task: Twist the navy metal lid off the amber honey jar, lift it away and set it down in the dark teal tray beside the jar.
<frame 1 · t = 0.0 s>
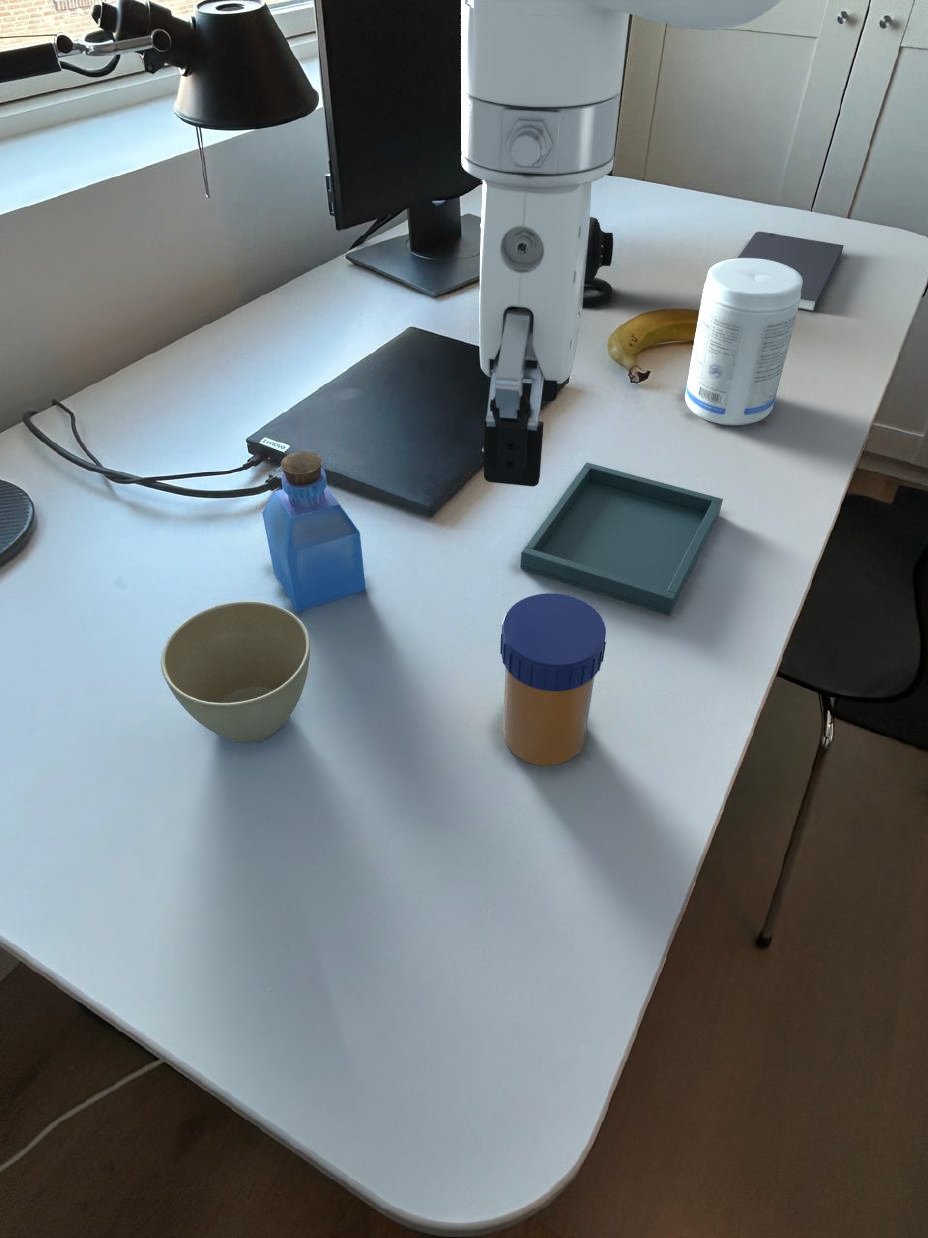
hand: (522, 436, 54), 21 cm above the table, tool pointing down, fingers open, 9 cm apart
webcam: (584, 296, 119), on the table
jar: (543, 732, 64), on the table
flower pot: (253, 718, 65), on the table
supplement tub: (726, 408, 98), on the table
lid: (553, 631, 57), point 10 cm above the table, screwed on, not yet turned
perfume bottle: (319, 581, 76), on the table
notebook: (781, 275, 124), on the table
tray: (623, 540, 80), on the table
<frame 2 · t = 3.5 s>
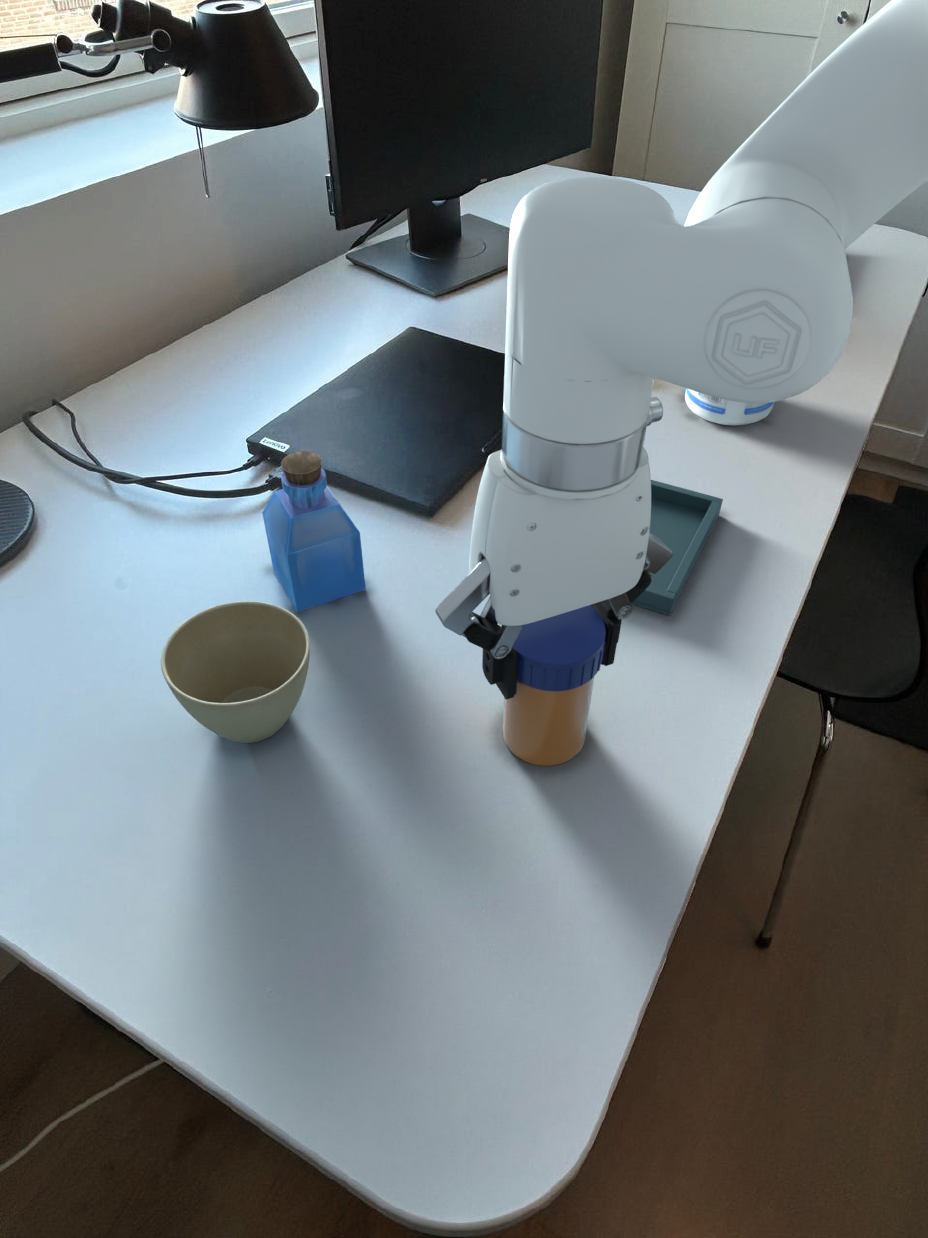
hand: (550, 666, 59), 7 cm above the table, tool pointing down, fingers closed on lid, 6 cm apart
lid: (553, 631, 57), point 10 cm above the table, screwed on, not yet turned, touching gripper
everything else where it was.
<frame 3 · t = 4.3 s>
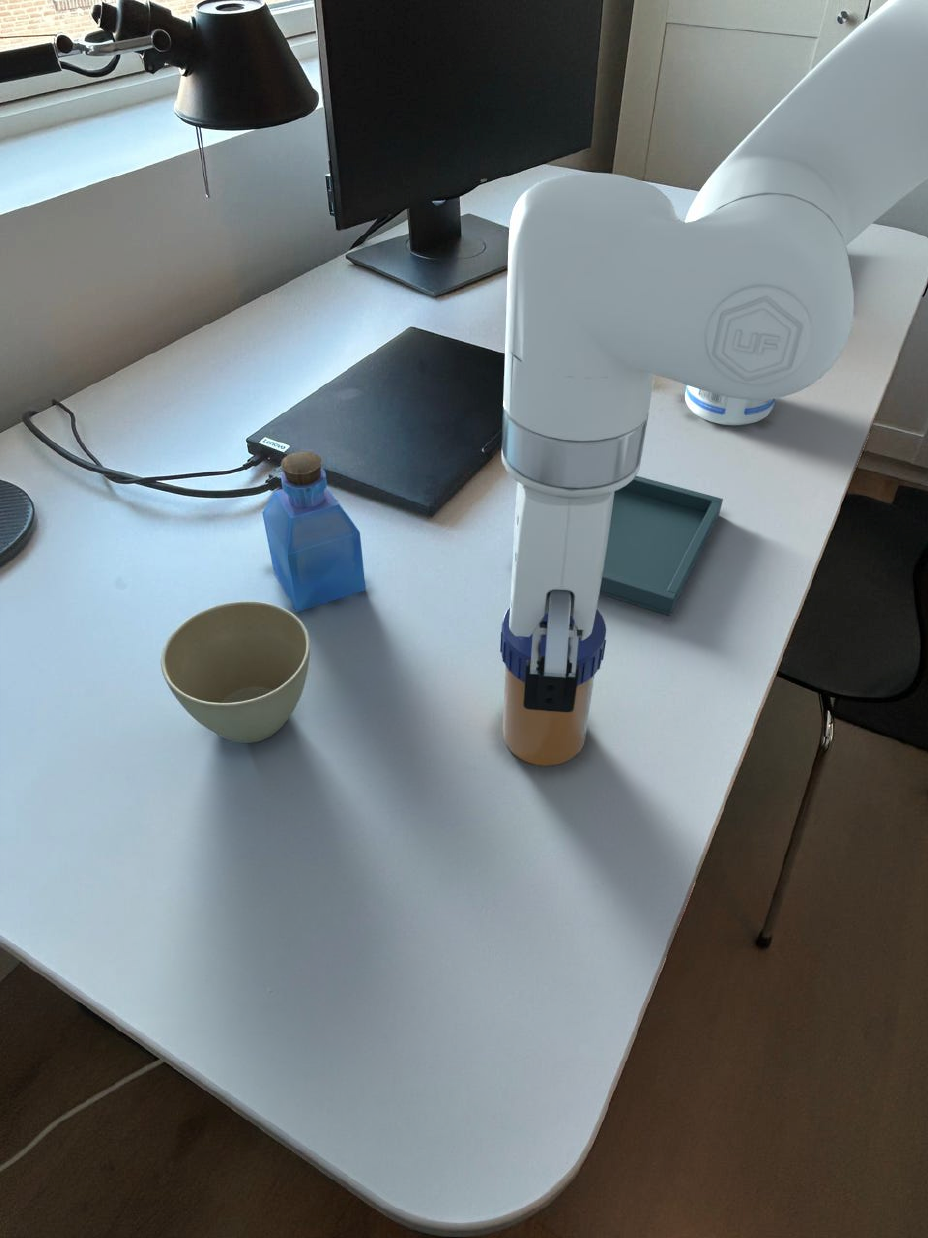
hand: (550, 664, 59), 7 cm above the table, tool pointing down, fingers closed on lid, 6 cm apart
lid: (553, 629, 57), point 10 cm above the table, turned 60° so far, risen 0.2 cm, still on its thread, touching gripper
everything else where it was.
when the fingers open (6 cm above the table, at t = 5.5 s): lid stays where it is, point 11 cm above the table.
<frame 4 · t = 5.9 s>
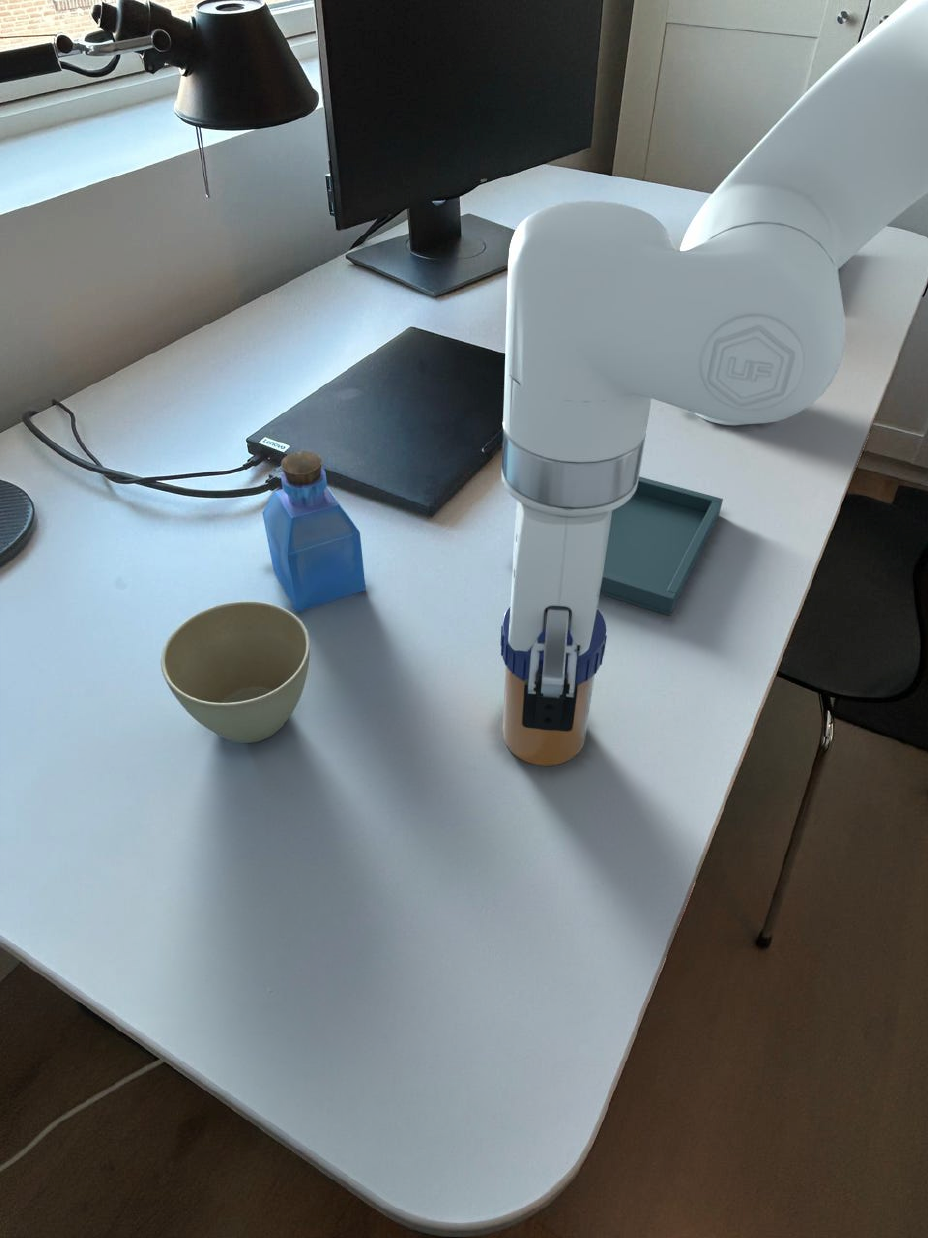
hand: (550, 670, 59), 7 cm above the table, tool pointing down, fingers open, 9 cm apart
lid: (553, 629, 57), point 11 cm above the table, turned 81° so far, risen 0.2 cm, still on its thread
everything else where it was.
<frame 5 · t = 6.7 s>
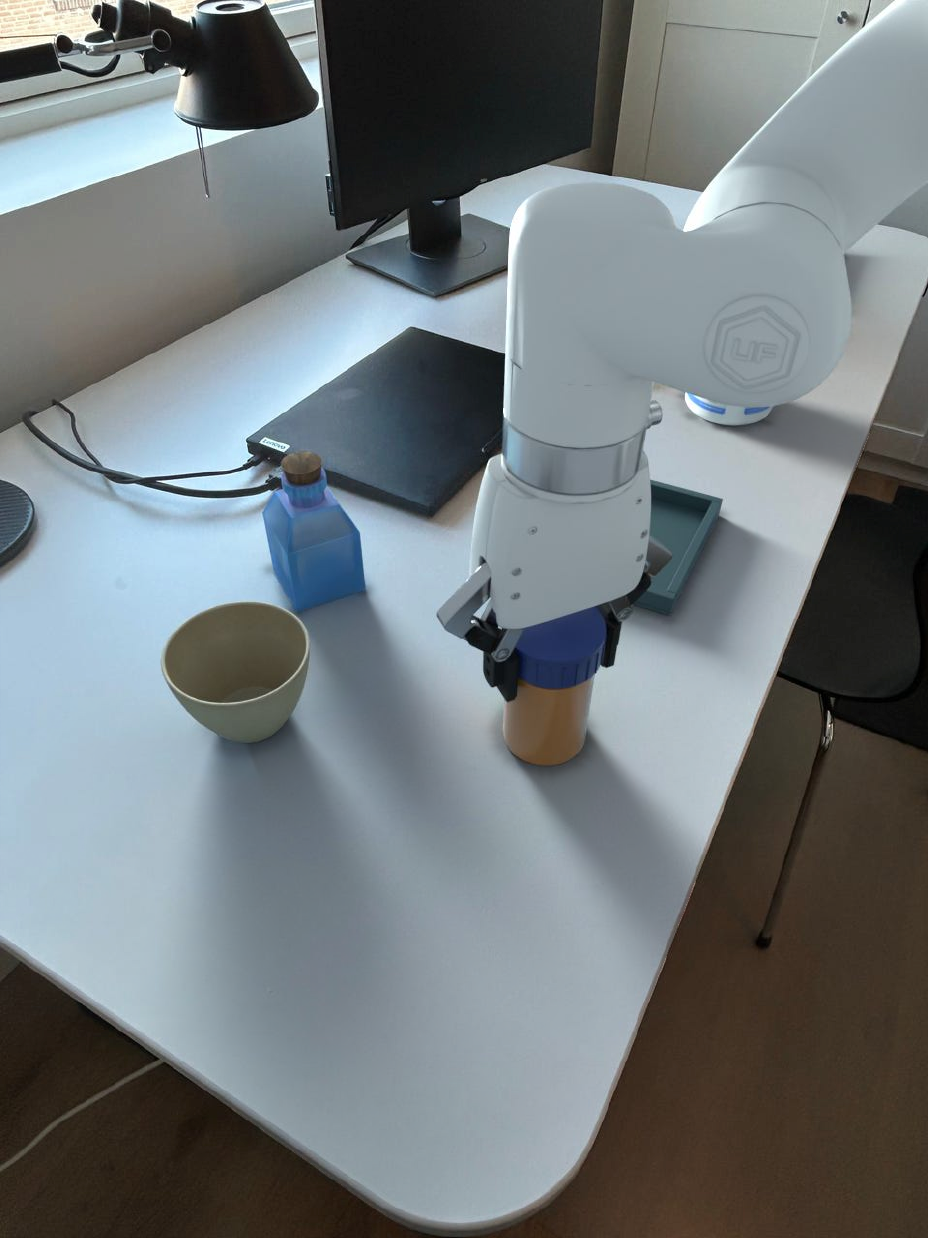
hand: (550, 668, 59), 7 cm above the table, tool pointing down, fingers closed on lid, 6 cm apart
lid: (554, 629, 57), point 11 cm above the table, turned 81° so far, risen 0.2 cm, still on its thread, touching gripper
everything else where it was.
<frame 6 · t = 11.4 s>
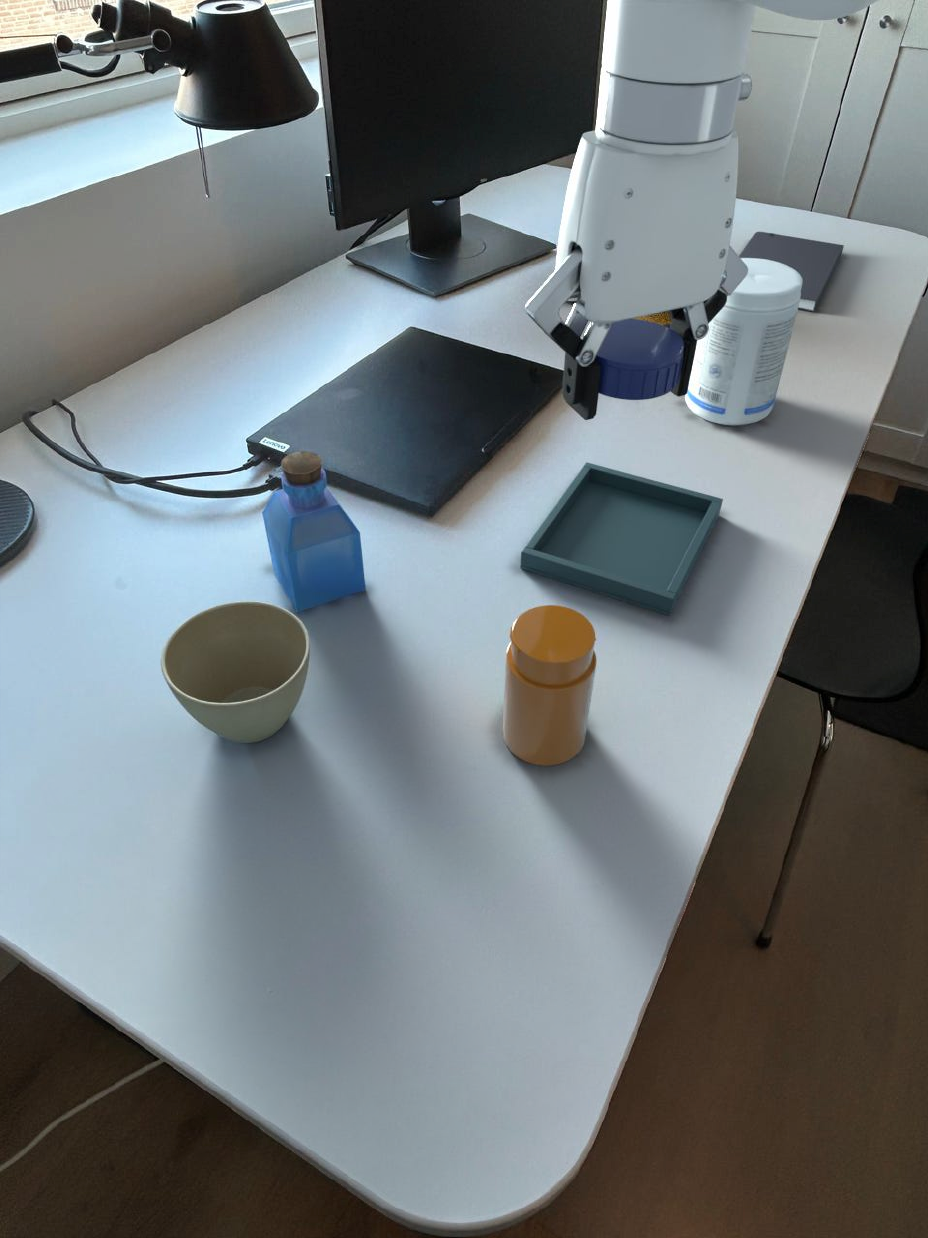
hand: (625, 396, 61), 19 cm above the table, tool pointing down, fingers closed on lid, 6 cm apart
lid: (632, 346, 58), point 23 cm above the table, off its thread, touching gripper
everything else where it was.
when the fingers open (2 cm above the table, at t = 16.2 s): lid drops 4 cm, resting on tray.
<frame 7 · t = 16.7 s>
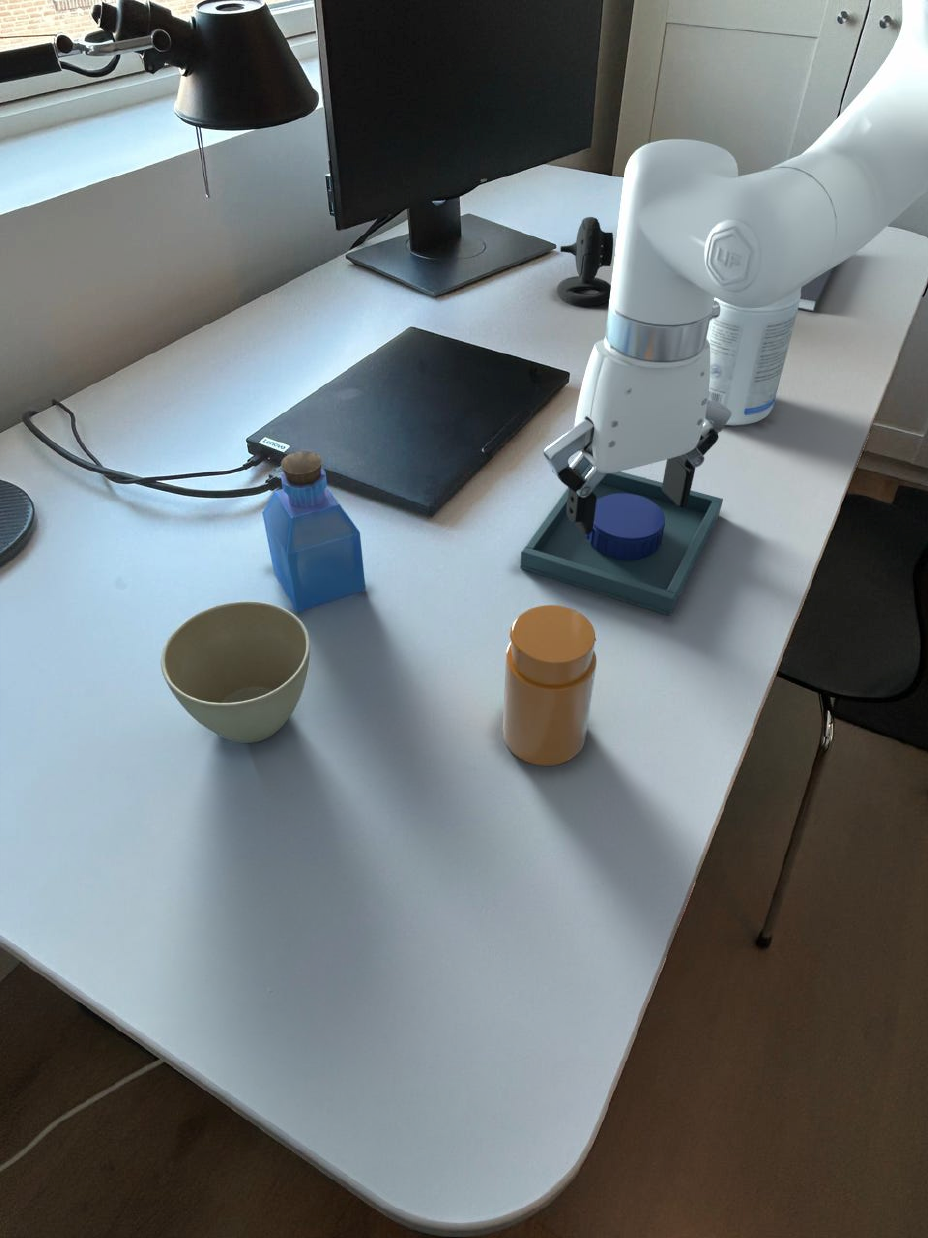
hand: (627, 511, 78), 3 cm above the table, tool pointing down, fingers open, 9 cm apart
lid: (626, 518, 78), point 2 cm above the table, off its thread, touching tray
everything else where it was.
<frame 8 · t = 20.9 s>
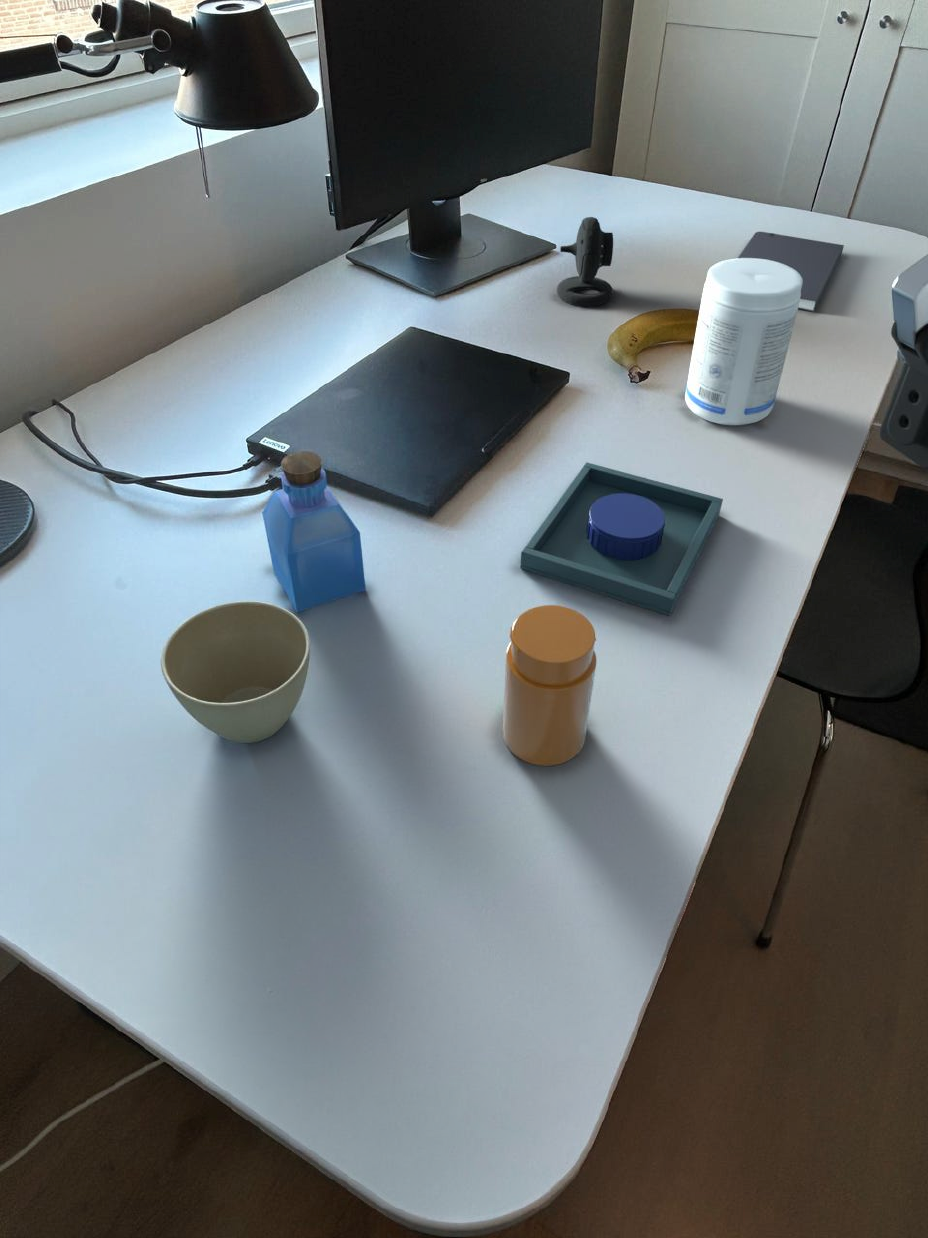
nothing on the table moved.
at the end: lid came off its thread; lid inside the target area in the tray (0.0 cm from its centre), point 2.5 cm above the tray's base; the gripper is holding nothing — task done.
